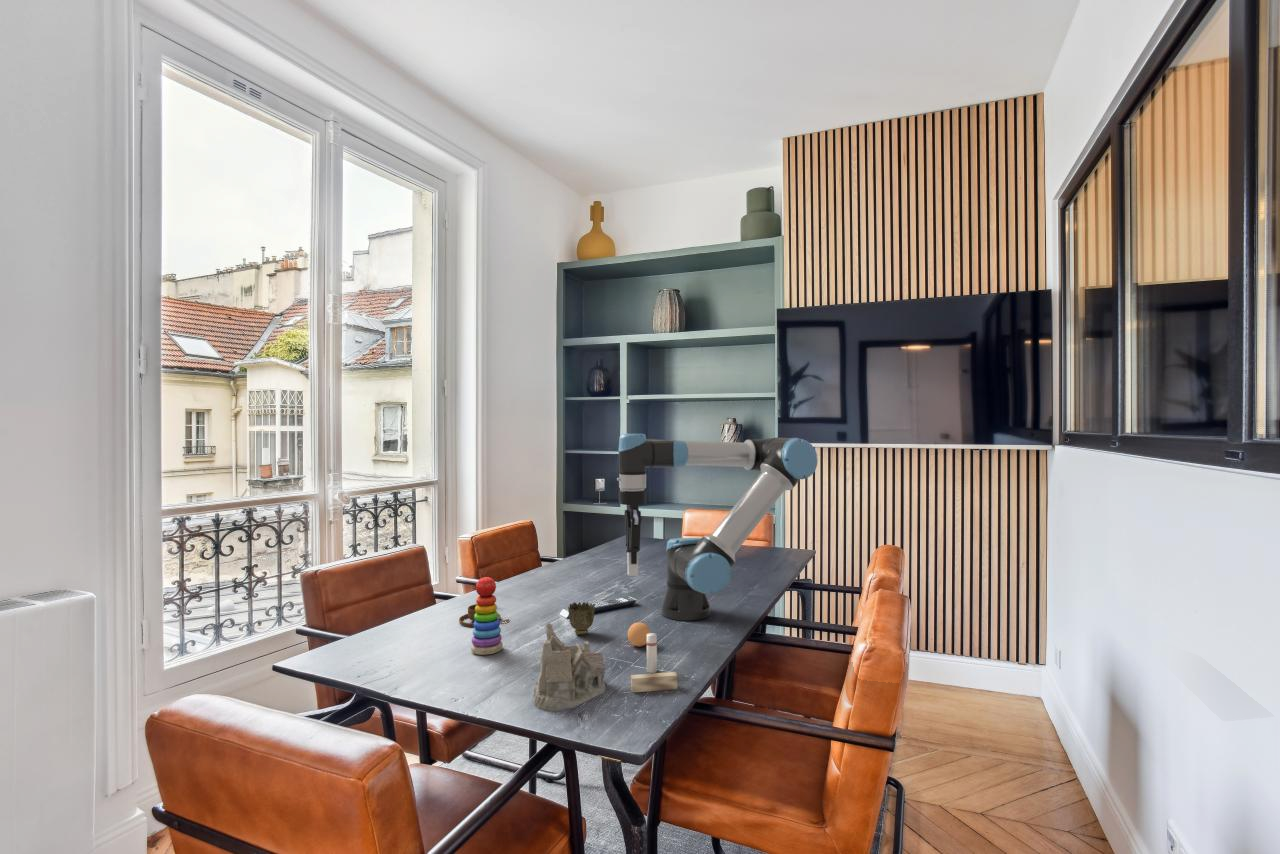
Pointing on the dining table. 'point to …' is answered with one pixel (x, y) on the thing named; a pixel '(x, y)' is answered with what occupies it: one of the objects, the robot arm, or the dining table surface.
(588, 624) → the cup
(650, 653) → the pin
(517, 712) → the dining table surface
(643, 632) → the ball
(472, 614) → the place setting
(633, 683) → the stopper rail
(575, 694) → the ceramic cottage
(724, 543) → the robot arm
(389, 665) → the dining table surface
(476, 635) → the stacking toy
